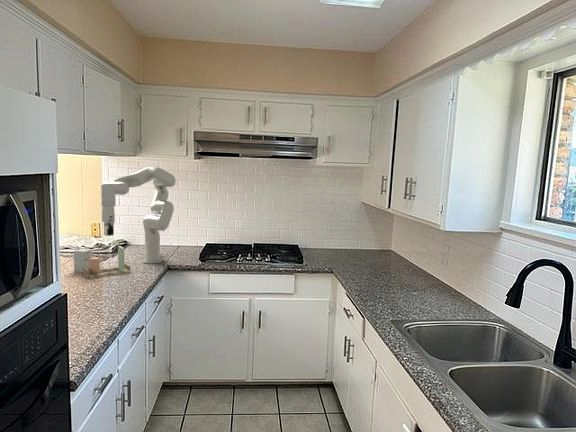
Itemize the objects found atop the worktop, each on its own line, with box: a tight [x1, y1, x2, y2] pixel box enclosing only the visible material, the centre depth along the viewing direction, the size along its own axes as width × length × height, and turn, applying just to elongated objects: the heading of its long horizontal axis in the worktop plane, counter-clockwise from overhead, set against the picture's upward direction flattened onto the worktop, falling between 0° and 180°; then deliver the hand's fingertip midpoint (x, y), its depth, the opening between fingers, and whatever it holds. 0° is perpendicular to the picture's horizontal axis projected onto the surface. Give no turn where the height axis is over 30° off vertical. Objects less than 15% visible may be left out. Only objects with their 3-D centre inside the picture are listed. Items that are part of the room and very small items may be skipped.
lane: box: [82, 261, 131, 279], centre depth 243 cm, size 24×11×4 cm, turn 130°
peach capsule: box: [88, 256, 101, 275], centre depth 238 cm, size 6×6×10 cm
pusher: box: [117, 245, 127, 271], centre depth 249 cm, size 3×8×15 cm, turn 40°
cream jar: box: [103, 222, 115, 237], centre depth 241 cm, size 6×6×7 cm
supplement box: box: [73, 248, 93, 273], centre depth 247 cm, size 7×7×13 cm
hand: (108, 233), depth 242 cm, fingers closed on cream jar, 5 cm apart
